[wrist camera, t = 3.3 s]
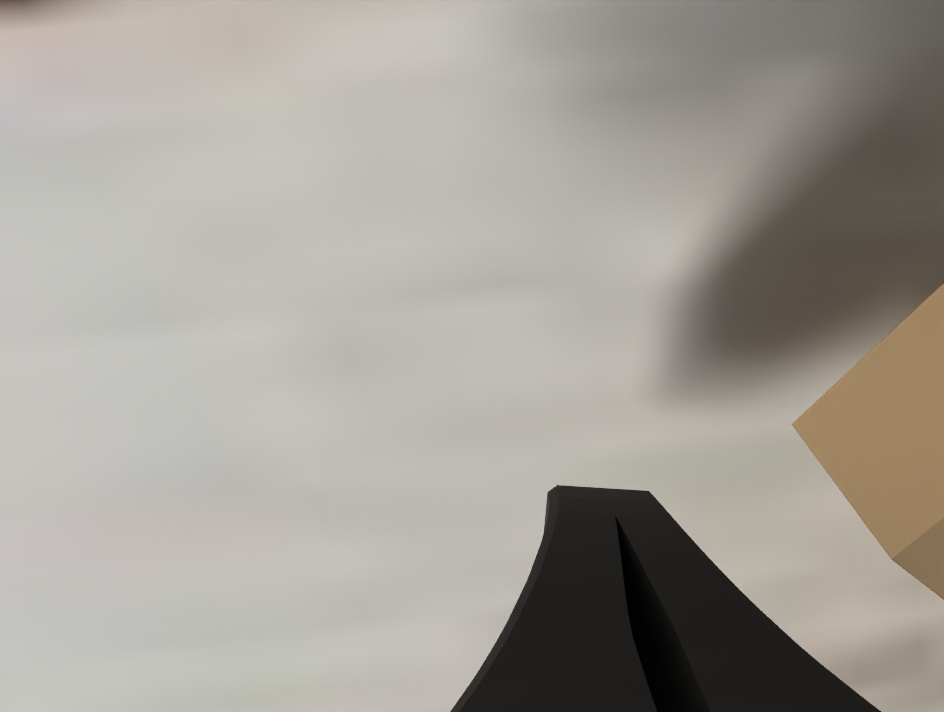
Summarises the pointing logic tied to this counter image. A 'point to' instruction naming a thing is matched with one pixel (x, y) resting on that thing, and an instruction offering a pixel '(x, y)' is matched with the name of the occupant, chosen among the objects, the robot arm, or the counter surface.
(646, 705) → the robot arm
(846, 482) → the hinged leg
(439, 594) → the counter surface
